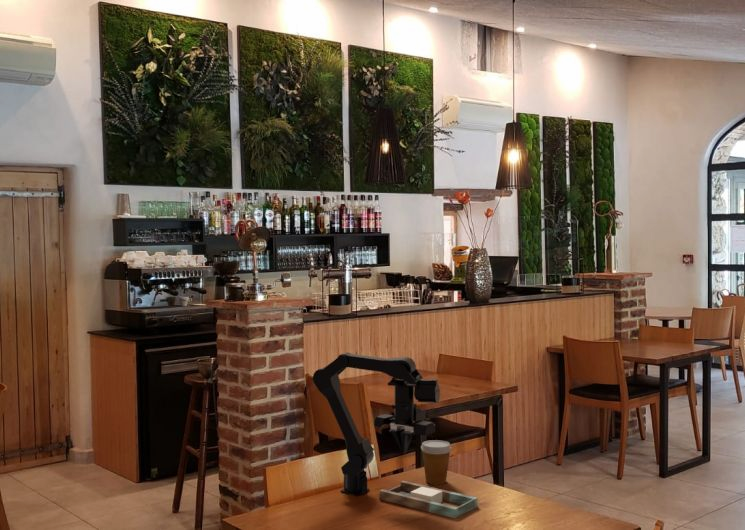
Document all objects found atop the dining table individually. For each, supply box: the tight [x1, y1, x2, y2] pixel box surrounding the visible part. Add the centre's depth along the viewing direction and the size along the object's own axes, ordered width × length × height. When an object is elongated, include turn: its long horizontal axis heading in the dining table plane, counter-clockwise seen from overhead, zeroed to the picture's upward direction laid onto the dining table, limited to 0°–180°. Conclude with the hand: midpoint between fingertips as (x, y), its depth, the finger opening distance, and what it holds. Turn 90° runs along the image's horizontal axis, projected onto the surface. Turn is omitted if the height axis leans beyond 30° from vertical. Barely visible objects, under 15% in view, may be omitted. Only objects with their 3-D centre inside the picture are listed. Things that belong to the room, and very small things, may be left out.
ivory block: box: [411, 487, 443, 504], centre depth 236 cm, size 7×6×4 cm
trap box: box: [379, 480, 479, 519], centre depth 236 cm, size 26×12×2 cm, turn 52°
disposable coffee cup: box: [420, 439, 452, 485], centre depth 255 cm, size 10×10×12 cm
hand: (404, 453), depth 240 cm, fingers closed
